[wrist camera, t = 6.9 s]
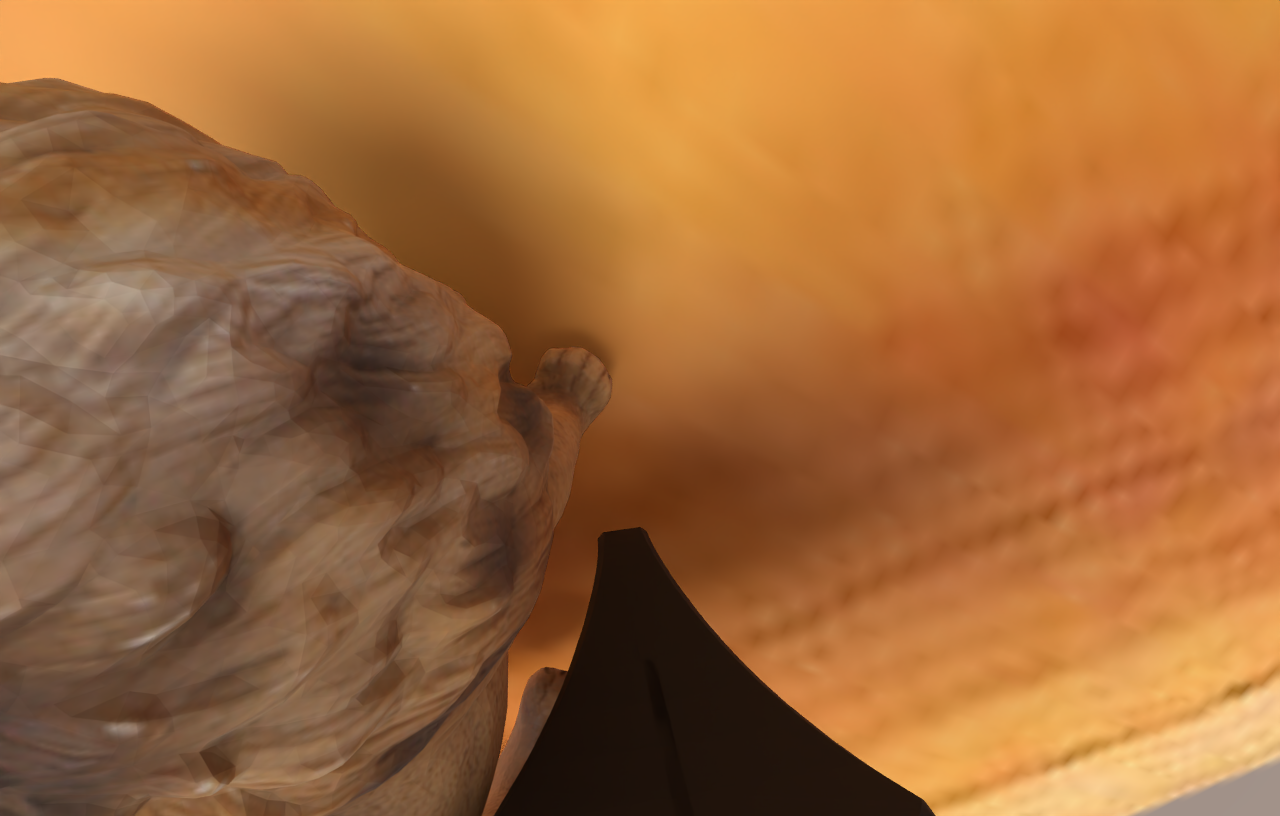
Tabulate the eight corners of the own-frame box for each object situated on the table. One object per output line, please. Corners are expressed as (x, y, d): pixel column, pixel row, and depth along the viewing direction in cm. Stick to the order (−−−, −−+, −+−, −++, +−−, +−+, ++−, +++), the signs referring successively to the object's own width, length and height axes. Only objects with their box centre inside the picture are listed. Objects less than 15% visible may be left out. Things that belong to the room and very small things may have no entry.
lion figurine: (255, 110, 11) (-1560, 34, 2) (620, 102, 10) (6, -44, 2) (393, 845, 16) (7, 1653, 7) (638, 870, 15) (518, 1782, 7)
